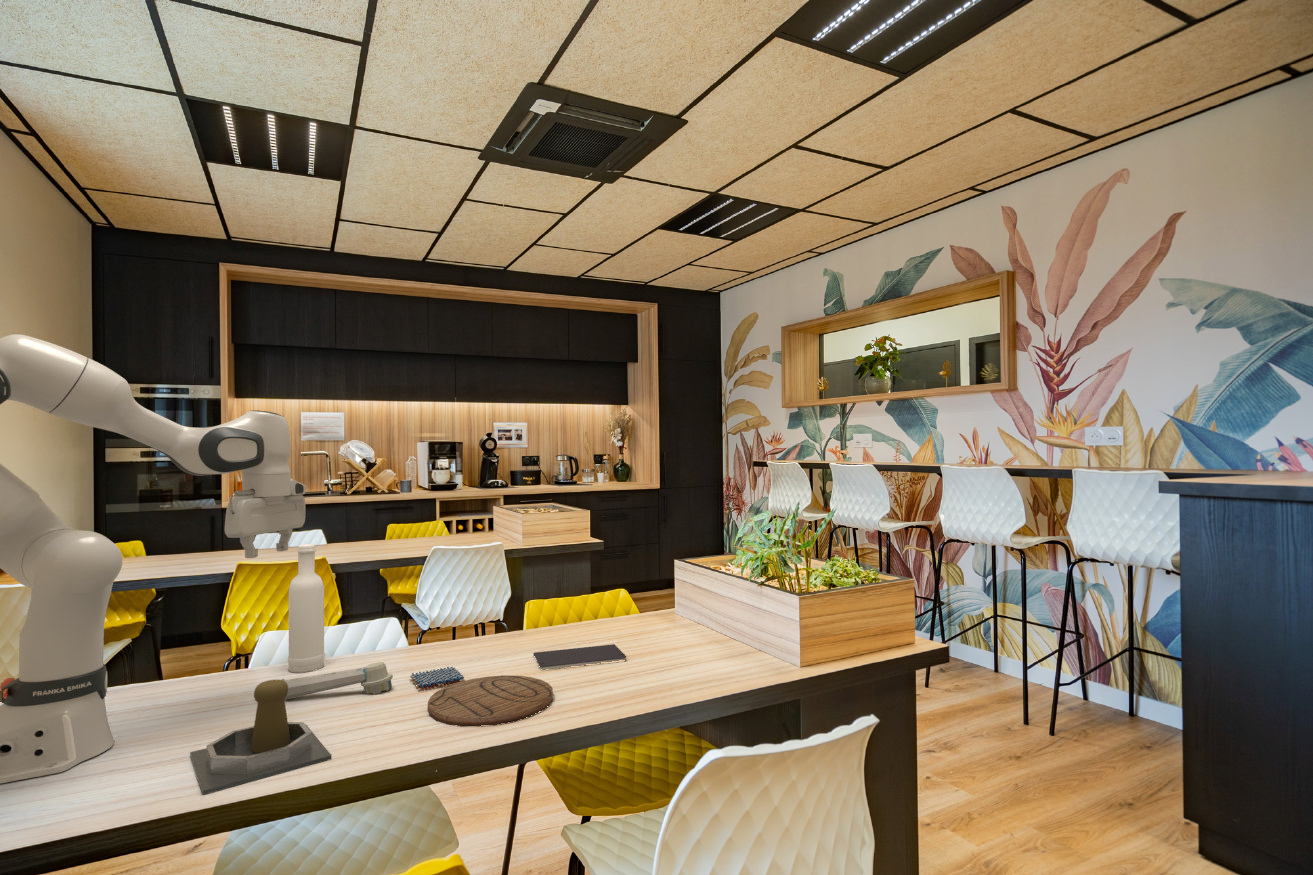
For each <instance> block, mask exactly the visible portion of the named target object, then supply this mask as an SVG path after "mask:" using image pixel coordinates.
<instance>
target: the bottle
mask: <svg viewBox="0 0 1313 875" xmlns="http://www.w3.org/2000/svg"><path fill="white" fill-rule="evenodd" d="M297 547H298V548H297V555H298V556H297V558H298V559H297V562H298V564H297V565H298V566H297V567H298V568H297V572H298V573H297V575H295V577H293V578H292V580H291V581H290V584H289V587H288V657H287V664H288V671H289V672H290V673H295V674H296V673H297V674H300V673H299V672H302V673H308V672H307V671H309V672H314V671H317V670H319V669H321V668H323V667H324V666H325V658H326V654H325V585H324V582H323V579H322V578H321V576H320V575H318V574H317V573H316V572H315V571H316V569H315V568H316V567H315V566H316V564H315V560H316V559H315V557H316V556H315V554H316V548H315V547H316V546H315V544H314V543H305V544H299V545H298V546H297ZM316 669H317V670H316ZM313 670H314V671H313Z"/></svg>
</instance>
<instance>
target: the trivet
mask: <svg viewBox="0 0 1313 875" xmlns="http://www.w3.org/2000/svg"><path fill="white" fill-rule="evenodd" d="M553 695H554V690H553V687H552V686H551V685H550V684H549V682H547V681H544V680H542V679H540V678H535V677H533V676H532V677H531V676H524V675H492V676H484V677H478V678H471V679H467V680H466V679H465V681H462V682H458V683H455V684H454V683H453V684H452V685H449V686H446V687H442V688H441V689H439V690H437V691H436V692H434V693H433V694H432V695H431V696H430V697H429V699H428V701H427V713H428V715H429V717H430V718H432V719H433V720H435V721H436V722H438V723H442V724H445V725H450V726H455V725H457V726H456V727H467V726H481V725H493V726H498V725H497V724H500V725H502V724H501V723H505V724H509V723H508V722H511V723H514V722H513V721H515V722H519V721H521V720H520V719H522V720H525V719H527V718H526V717H529V718H531V717H532V716H531V715H533V716H535V715H536V714H535V713H538V712H539V711H542V710H543V711H544V710H546V709H548V707H547V706H549V707H550V706H551V704H552V702H553V701H552V700H554V696H553ZM550 703H551V704H550ZM545 708H546V709H545ZM543 711H542V712H543ZM534 714H535V715H534ZM538 714H539V713H538ZM530 716H531V717H530ZM524 718H525V719H524ZM518 720H519V721H518ZM481 727H482V726H481Z"/></svg>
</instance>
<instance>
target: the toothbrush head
mask: <svg viewBox="0 0 1313 875" xmlns="http://www.w3.org/2000/svg"><path fill="white" fill-rule="evenodd" d="M393 676H394V675H393V673H390V672H389V671H388V668H387V666H386V663H385V662H382V661H378V662H374V663H371V664H368V665H366V666H364V667H360V668H359V667H358V668H353V669H346V670H341V671H333V672H327V673H322V674H316V675H315V674H314V675H310V676H303V677H295V678H292V679H291V678H290V679H289V678H288V679H285V678H282V679H281V680H283V681H285V682H286V683H287V685H288V693H287V696H286V697H285V701H286V700H289V699H290V700H291V699H295V698H299V697H303V696H307V695H311V694H312V695H313V694H317V693H321V692H325V691H330V690H335V689H339V688H344V687H346V686H352V685H357V684H360V686H361V687H363V691H364V694H366V695H370V694H373V695H378V694H381V693H382V691H383V692H384V691H385V692H386V691H389V690H390V689H392V688H393V685H392V679H394V678H393Z"/></svg>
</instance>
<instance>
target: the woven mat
mask: <svg viewBox="0 0 1313 875" xmlns="http://www.w3.org/2000/svg"><path fill="white" fill-rule="evenodd" d="M409 678H411V679H409V681H411V684H413V685H414V686H415V688H416V690H417V691H418V692H424V690H425V691H430V690H435V689H439V688H441V689H442V688H445V687H447V686H449V685H452V684H455V683H458V682H462V681H466V679H464V678H465V675H464V674H462V673H461V671H459V669H456V667H453V666H450V667H449V666H447V667H444V668H442V667H441V668H439V669H433V670H432V669H431V670H429V671H428V670H426V671H422V672H421V671H418V672H416V673H415V674H414V672H412V673H411V675H410V676H409ZM416 685H417V686H416Z"/></svg>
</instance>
